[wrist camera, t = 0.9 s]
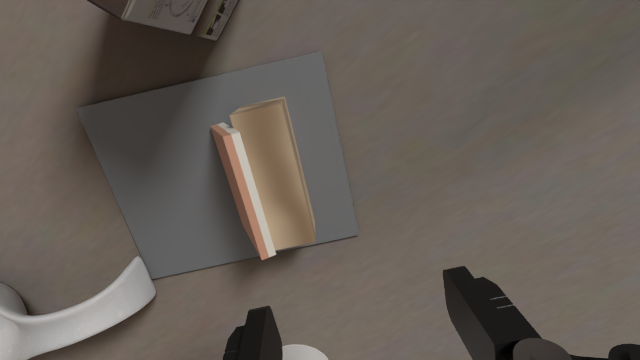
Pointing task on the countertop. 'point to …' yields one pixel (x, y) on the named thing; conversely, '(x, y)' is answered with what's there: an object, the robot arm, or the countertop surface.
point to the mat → (213, 162)
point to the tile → (243, 188)
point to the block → (277, 171)
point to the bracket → (302, 353)
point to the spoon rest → (71, 315)
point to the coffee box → (174, 14)
